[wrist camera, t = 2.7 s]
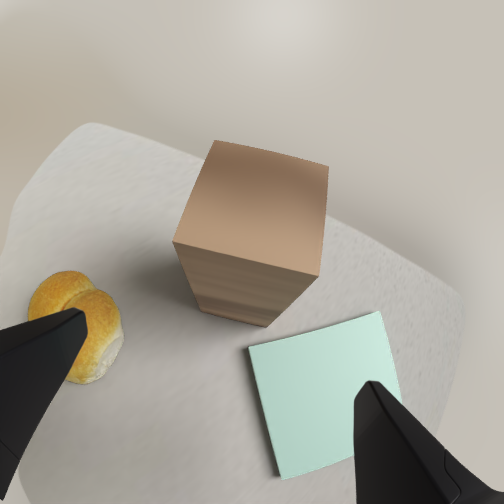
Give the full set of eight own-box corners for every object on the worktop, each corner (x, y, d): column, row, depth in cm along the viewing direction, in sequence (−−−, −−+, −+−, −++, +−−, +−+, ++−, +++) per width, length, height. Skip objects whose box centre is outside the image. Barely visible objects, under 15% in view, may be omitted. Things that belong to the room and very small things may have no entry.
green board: (401, 427, 17) (406, 428, 16) (280, 476, 15) (282, 480, 14) (374, 312, 21) (379, 310, 20) (247, 347, 19) (248, 346, 18)
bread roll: (70, 262, 20) (48, 243, 17) (141, 319, 19) (124, 308, 16) (27, 334, 17) (0, 325, 13) (93, 401, 16) (68, 405, 12)
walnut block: (266, 327, 20) (318, 276, 9) (201, 311, 20) (172, 241, 9) (278, 266, 22) (328, 166, 11) (218, 252, 22) (214, 140, 11)
